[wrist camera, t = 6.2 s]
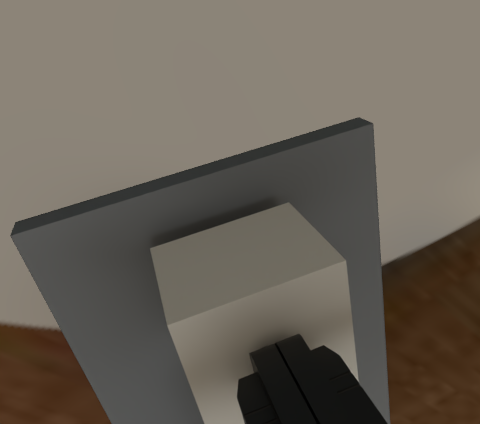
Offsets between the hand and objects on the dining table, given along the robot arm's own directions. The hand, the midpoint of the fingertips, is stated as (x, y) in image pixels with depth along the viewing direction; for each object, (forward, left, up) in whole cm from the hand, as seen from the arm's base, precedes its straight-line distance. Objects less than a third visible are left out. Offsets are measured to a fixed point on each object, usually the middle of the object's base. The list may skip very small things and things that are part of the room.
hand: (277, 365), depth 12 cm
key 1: (0, 0, -4) cm, 4 cm away
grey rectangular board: (0, +7, -6) cm, 9 cm away
